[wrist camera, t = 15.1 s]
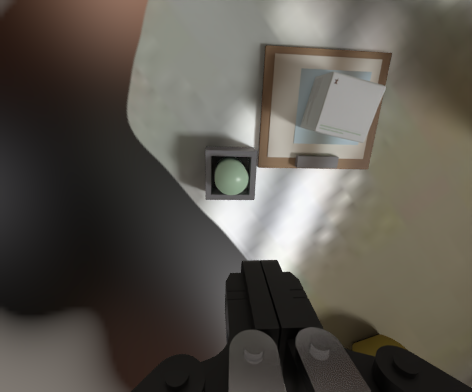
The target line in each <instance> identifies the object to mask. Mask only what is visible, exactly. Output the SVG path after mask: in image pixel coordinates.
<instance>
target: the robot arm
mask: <svg viewBox="0 0 472 392" xmlns="http://www.w3.org/2000/svg"><path fill="white" fill-rule="evenodd" d="M225 297H226V298H225V319H226V338H227V345H226V346H225V348H224V349H223V350H222V351H221V352H220V353H219V354H218V355H216V356H215V357H212V358H210V359H208V360H205V361H203V362H199V361H198V360H197V359H196V358H194V357H193V356H190V355H186V354H179V355H174V356H171V357H169V358H167V359H165V360H164V361H162V362H161V363H160V364H159V365H158V366H157V367H156V368H155V369H154V370H153V371H152V372H151V373H150V374H149V375H147V376H146V378H144V379H143V380H142V381H141V382H140V383H139V384H138V385H137V387H135V388H134V389H133V390H132V391H131V392H285V387H286V391H287V392H472V388H471V387H469V386H467V385H466V384H464V383H462V382H460V381H459V380H457V379H455V378H454V377H452V376H450V375H449V374H447V373H445V372H444V371H442V370H440V369H439V368H437V367H435V366H433V365H432V364H430V363H428V362H427V361H425V360H423V359H422V358H420V357H418V356H417V355H415V354H413V353H412V352H410V351H408V350H406V349H403V348H401V347H398V346H393V345H385V346H382V347H380V348H379V349H378V350H377V352H376V355H375V356H372V355H367V354H363V353H359V352H355V351H352V350H349V349H346V348H344V347H343V346H342V344H341V343H340V341H339V340H338V339H337V338H336V337H335V336H334V335H332V334H331V333H329V332H328V331H326V330H324V329H323V327H322V325H321V323H320V321H319V319H318V317H317V315H316V313H315V311H314V309H313V307H312V305H311V303H310V301H309V299H308V298H307V295H306V293H305V291H304V290H303V287H302V285H301V283H300V281H299V279H298V278H296V277H295V276H294V275H293V274H292V273H291V272H282V270H281V267H280V265H279V263H278V261H277V260H260V261H259V260H252V261H242V264H241V273H230V275H229V277H228V279H227V280H226V295H225ZM284 384H285V386H284Z"/></svg>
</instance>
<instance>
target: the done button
mask: <svg viewBox="0 0 472 392" xmlns="http://www.w3.org/2000/svg"><path fill="white" fill-rule="evenodd" d="M215 184H216V186H217V188H218V189H219V190H220V191H221V192H222V193H224V194H226V195H236V194H239V193H241V192H242V191H243V190H244V189H245V188H246V186H247V184H248V173H247V171H246V169H245V167H244V165H243V163H242V162H241V161H240V160H239V159H238V158H236V157H234V156H226V157H223V158H221V159H220V160H219V161H218V162H217V164H216V166H215Z"/></svg>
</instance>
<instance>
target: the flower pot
mask: <svg viewBox="0 0 472 392" xmlns="http://www.w3.org/2000/svg"><path fill="white" fill-rule="evenodd" d="M385 345H393V346H398V347H401V348H403V349H406V348H405V347H404V346H402V345H401V344H400V343H398V342H397V341H395V340H393V339H391V338H389V337H387V336H384V335H380V334H379V335H376V336H373V337H370V338H368V339H365V340H362V341H359V342H356V343H354V344H353V345H352V351H355V352H359V353H363V354H367V355H372V356H375V355H376V352H377V350H378V349H379V348H380V347H382V346H385ZM406 350H407V349H406Z"/></svg>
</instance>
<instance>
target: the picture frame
mask: <svg viewBox="0 0 472 392" xmlns="http://www.w3.org/2000/svg"><path fill="white" fill-rule="evenodd" d="M391 55H392V53H383V52H366V51H350V50H333V49H317V48H300V47H283V46H267V45H266V47H265V61H264V77H263V92H262V108H261V124H260V140H259V156H258V167H261V168H320V169H368V167H369V162H370V157H371V152H372V147H373V143H374V138H375V133H376V128H377V123H378V118H379V113H380V109H381V104H382V99H383V96H382V99H381V101H380V103H379V106H378V108H377V111H376V113H375V116H374V118H373V121H372V124H371V126H370V129H369V131H368V134H367V136H366V139H365V141H364V143H361V142H356V141H351V140H347V139H342V138H338V137H333V136H329V135H326V134H322V133H318V132H315V131H311V130H308V129H304V128H301V127H300V125H301V122H302V118H303V115H304V112H305V109H306V105H307V102H308V99H309V96H310V92H311V89H312V86H313V83H314V80H315V77H317V76H321V75H324V74H327V73H330V72H333V71H335V72H338V73H342V74H346V75H349V76H353V77H356V78H359V79H363V80H367V81H371V82H374V83H378V84H381V85H384V86H385V84H386V80H387V75H388V70H389V65H390V60H391Z"/></svg>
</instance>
